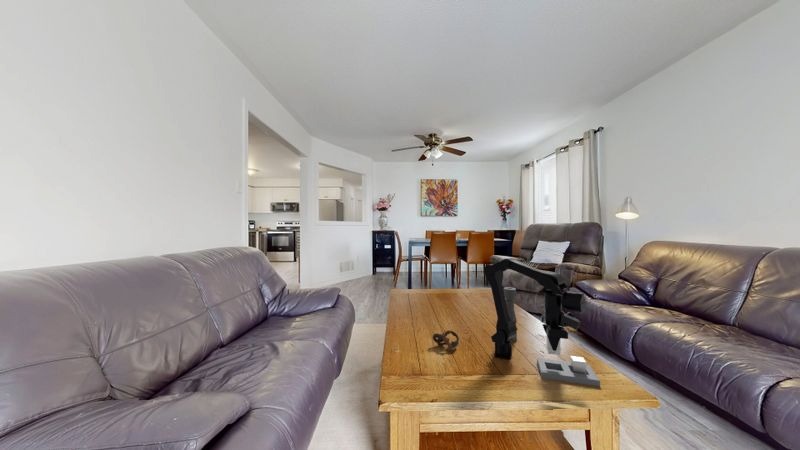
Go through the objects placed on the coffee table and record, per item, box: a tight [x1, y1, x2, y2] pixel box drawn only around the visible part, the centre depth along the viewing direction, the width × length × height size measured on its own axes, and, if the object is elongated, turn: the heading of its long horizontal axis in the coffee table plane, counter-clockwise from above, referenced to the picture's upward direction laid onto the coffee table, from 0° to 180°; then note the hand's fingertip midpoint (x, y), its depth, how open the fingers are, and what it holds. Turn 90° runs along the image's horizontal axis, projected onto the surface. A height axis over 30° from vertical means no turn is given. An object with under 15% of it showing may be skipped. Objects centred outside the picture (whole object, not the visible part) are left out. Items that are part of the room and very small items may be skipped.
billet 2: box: [570, 355, 587, 374], centre depth 104 cm, size 4×4×6 cm
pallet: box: [536, 357, 601, 387], centre depth 105 cm, size 18×12×3 cm, turn 71°
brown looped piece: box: [432, 329, 460, 351], centre depth 132 cm, size 12×10×8 cm
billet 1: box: [545, 333, 562, 356], centre depth 106 cm, size 4×4×6 cm
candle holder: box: [503, 286, 518, 342], centre depth 140 cm, size 6×6×25 cm
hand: (553, 348), depth 106 cm, fingers closed on billet 1, 4 cm apart
